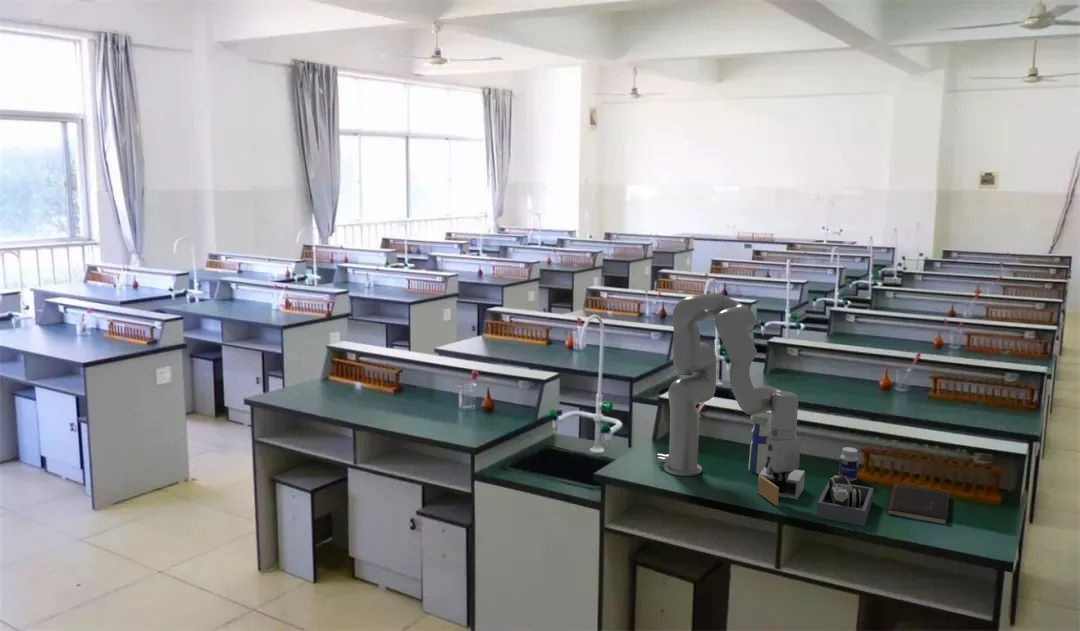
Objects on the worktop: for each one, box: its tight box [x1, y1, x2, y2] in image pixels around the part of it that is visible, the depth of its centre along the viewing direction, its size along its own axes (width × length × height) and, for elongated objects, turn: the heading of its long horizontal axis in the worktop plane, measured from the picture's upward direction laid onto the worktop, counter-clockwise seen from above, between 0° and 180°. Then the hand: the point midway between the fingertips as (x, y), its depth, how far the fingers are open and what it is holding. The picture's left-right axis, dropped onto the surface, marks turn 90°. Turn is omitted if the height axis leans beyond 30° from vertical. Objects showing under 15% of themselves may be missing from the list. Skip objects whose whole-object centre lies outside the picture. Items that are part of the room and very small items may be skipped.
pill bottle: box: [838, 446, 860, 482], centre depth 275 cm, size 6×6×10 cm
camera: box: [828, 475, 862, 509], centre depth 249 cm, size 16×9×10 cm, turn 168°
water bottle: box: [747, 411, 771, 475], centre depth 281 cm, size 8×9×25 cm
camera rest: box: [816, 480, 874, 527], centre depth 250 cm, size 13×20×4 cm, turn 152°
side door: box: [757, 474, 780, 506], centre depth 257 cm, size 11×1×6 cm, turn 15°
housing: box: [758, 467, 806, 500], centre depth 264 cm, size 12×10×6 cm
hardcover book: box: [886, 483, 950, 525], centre depth 254 cm, size 16×23×2 cm
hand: (779, 491), depth 255 cm, fingers closed
